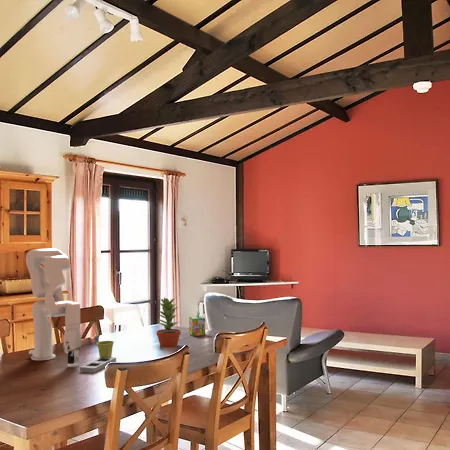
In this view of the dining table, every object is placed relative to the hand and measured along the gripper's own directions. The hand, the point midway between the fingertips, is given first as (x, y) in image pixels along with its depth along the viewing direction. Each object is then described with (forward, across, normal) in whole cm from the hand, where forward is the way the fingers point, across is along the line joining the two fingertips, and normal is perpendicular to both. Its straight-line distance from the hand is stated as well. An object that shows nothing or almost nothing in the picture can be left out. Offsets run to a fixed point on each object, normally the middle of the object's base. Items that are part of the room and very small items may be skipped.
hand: (73, 362), depth 267 cm
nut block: (+2, 0, 0) cm, 2 cm away
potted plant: (+2, -56, +30) cm, 64 cm away
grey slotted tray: (+2, -1, +14) cm, 14 cm away
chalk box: (+2, -92, +36) cm, 99 cm away
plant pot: (+2, -19, +8) cm, 21 cm away
